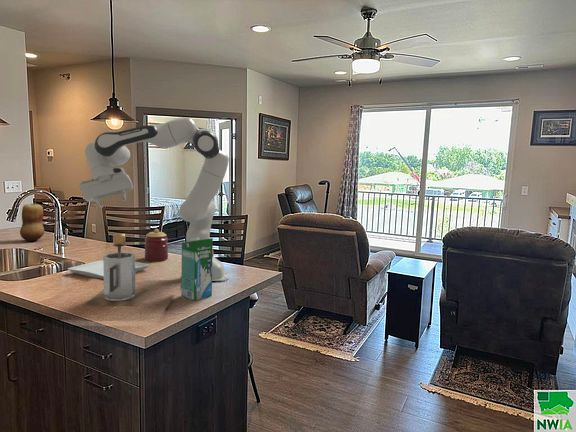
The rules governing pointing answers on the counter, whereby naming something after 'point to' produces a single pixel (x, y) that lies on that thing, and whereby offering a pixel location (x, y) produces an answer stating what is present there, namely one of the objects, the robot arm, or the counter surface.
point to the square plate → (99, 269)
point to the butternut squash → (32, 222)
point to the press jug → (119, 277)
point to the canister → (156, 246)
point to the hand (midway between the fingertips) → (113, 203)
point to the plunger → (119, 242)
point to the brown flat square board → (100, 301)
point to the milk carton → (197, 268)
